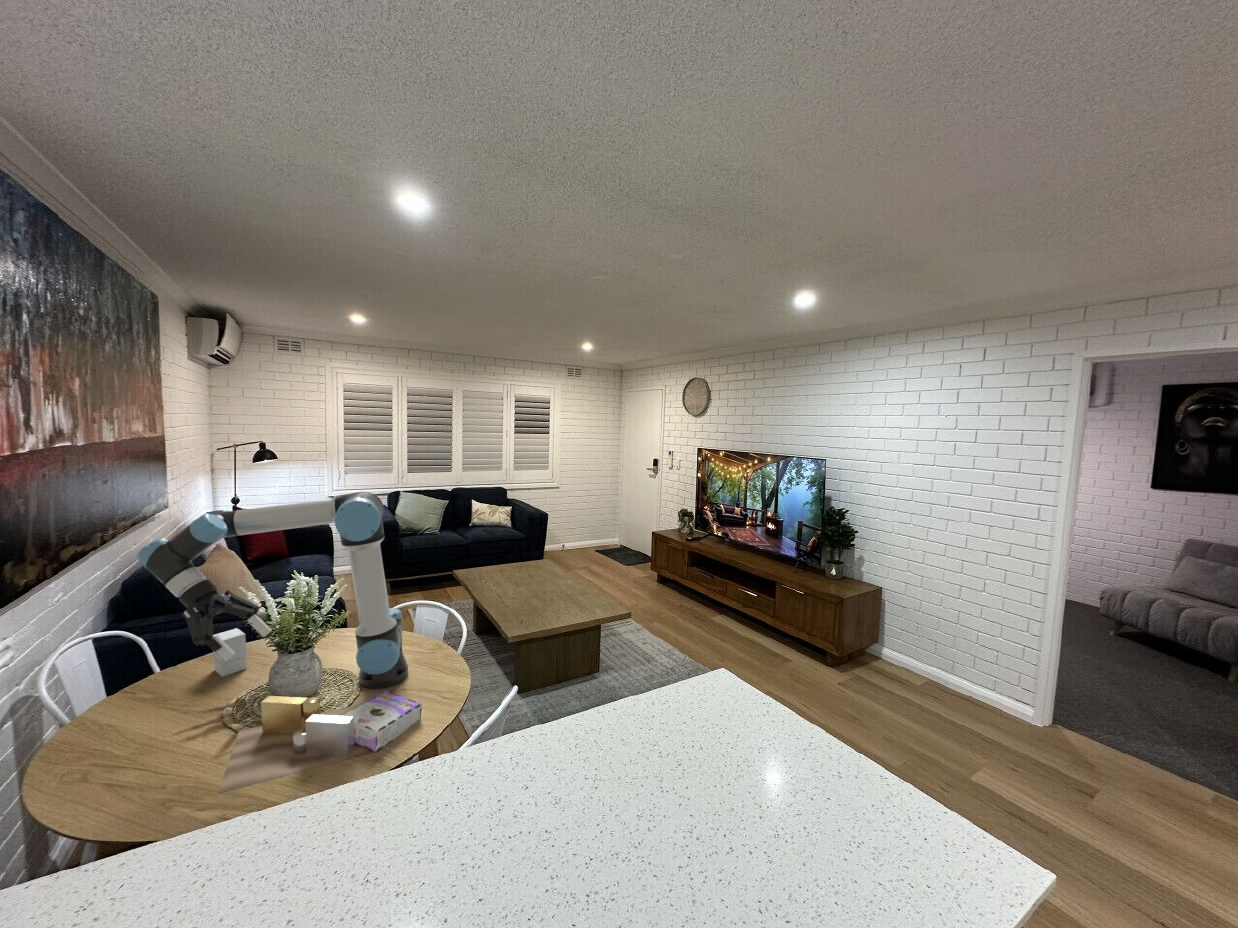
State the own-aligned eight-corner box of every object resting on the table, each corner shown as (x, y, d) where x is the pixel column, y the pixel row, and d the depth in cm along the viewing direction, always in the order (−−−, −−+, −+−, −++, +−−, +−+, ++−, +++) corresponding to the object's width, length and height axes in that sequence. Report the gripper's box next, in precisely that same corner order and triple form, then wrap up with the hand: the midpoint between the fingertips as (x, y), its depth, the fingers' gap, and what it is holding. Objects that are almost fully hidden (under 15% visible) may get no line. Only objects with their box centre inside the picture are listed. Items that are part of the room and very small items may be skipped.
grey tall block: (239, 661, 176) (237, 627, 174) (247, 668, 171) (245, 633, 170) (213, 670, 170) (211, 634, 168) (221, 677, 165) (219, 641, 164)
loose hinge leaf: (271, 724, 141) (270, 694, 140) (323, 727, 140) (322, 697, 139) (261, 733, 137) (259, 702, 136) (314, 736, 136) (313, 705, 135)
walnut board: (239, 734, 138) (239, 730, 138) (368, 705, 153) (368, 702, 153) (218, 797, 116) (218, 793, 116) (371, 756, 131) (371, 752, 131)
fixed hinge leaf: (300, 743, 133) (299, 712, 132) (355, 746, 133) (354, 715, 132) (290, 754, 129) (288, 721, 128) (346, 757, 129) (346, 724, 128)
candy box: (384, 708, 151) (336, 736, 136) (386, 689, 151) (338, 715, 135) (420, 722, 146) (375, 753, 131) (422, 703, 146) (377, 731, 130)
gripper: (220, 581, 147) (272, 633, 148) (138, 616, 122) (202, 677, 123) (237, 565, 146) (290, 616, 148) (159, 596, 121) (223, 658, 123)
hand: (250, 644), depth 136 cm, fingers open, 13 cm apart
